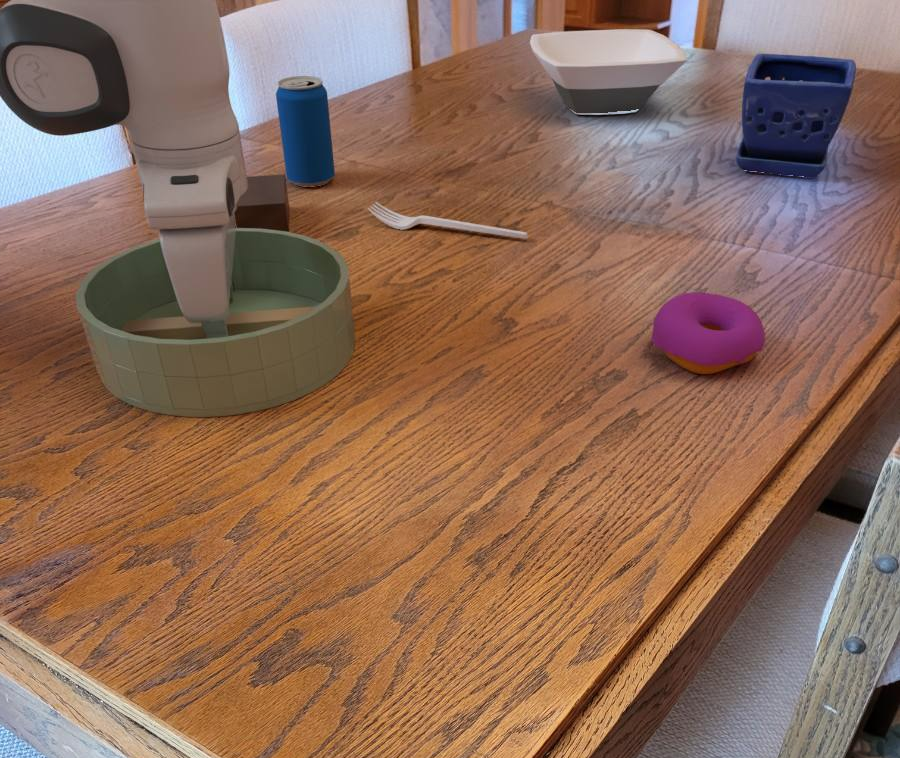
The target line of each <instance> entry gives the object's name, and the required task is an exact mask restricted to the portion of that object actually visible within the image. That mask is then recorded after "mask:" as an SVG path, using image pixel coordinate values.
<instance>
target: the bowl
mask: <svg viewBox="0 0 900 758" xmlns="http://www.w3.org/2000/svg"><path fill="white" fill-rule="evenodd" d="M529 45H530V47H531V50H532V52H533V55H535V57H536V59H537V60H538V62H539V63H540V64H541V66H542V68H543V69H544V70H545V72H546V73H547V75H548V76H549V77H550V78H551V81H552V82H553V84H554V86H555V88H556V91H557V92H558V94H559V96H560V98H561V101H562V102H563V104H564V106H565V105H566V106H567V107H568V108H569V109H571V110H573V111H574V112H576V113H608V112H617V111H631V110H636V109H640V110H641V109H642V108H643V106H645V104H646V103H647V102H648V100H649V99H650V98H651V97H652V96H653V94H654V93H655V92H656V91H657V90H658V89H659V88H660V86H661V85H663V84H664V83H666V81H667V80H669V78H671V76H673V75H674V74H675V73H676V72H677V71H679V69H680V68H681V67H682V66H683V65H684V64H686V63H687V59H688V58H687V53H686V51H685V50H684V49H683V48H682V47H681V46H680V45H679V43H678V42H676V41H673V40H672V39H671V38H670V37H667V36H666V35H664V34H662V33H658V32H657V31H654V30H652V29H644V28H643V29H640V28H639V29H637V28H636V29H635V28H634V29H633V28H631V29H630V28H620V29H618V28H617V29H591V30H568V31H552V32H544V33H535V34H532V35H531V37H530V40H529ZM566 106H565V107H566ZM567 107H566V108H567ZM568 108H567V109H568ZM569 109H568V110H569Z"/></svg>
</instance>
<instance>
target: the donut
mask: <svg viewBox="0 0 900 758" xmlns="http://www.w3.org/2000/svg"><path fill="white" fill-rule="evenodd" d="M763 325H764V324H763V322H762V320H761V319H760V316H759V315H758V314H757V312H756V311H755V310H754V309H753V308H752V307H751V306H749V305H748V304H746V303H744V302H742V301H740V300H738V299H736V298H733V297H729V296H725V295H721V294H716V293H709V292H694V291H693V292H685V293H681V294H679V295H676V296H674V297H672V298H670V299H669V300H667V301H666V302H665V303H664V304H663V305H662V306H661V307H660V308H659V310H658V312H657V313H656V314H655V317H654V320H653V325H652V332H651V340H652V343H653V345H654V346H655V347H657V348H658V349H660V350H661V352H663V354H664V355H665V356H666V357H667V358H668V359H670V360H671V361H672V362H674V363H675V364H677V365H678V366H680V367H681V368H683V369H685V370H687V371H688V372H691V373H694V374H700V375H711V374H716V373H719V372H721V371H725V370H727V369H730V368H732V367H735V366H739V365H742V364H745V363H748V362H750V361H751V360H753V359H754V358H755V357H756V354H757V353H758V352H762V351H763V348H764V346H765V341H766V340H765V339H766V333H765V328H764V326H763Z"/></svg>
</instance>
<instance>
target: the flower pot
mask: <svg viewBox="0 0 900 758" xmlns="http://www.w3.org/2000/svg"><path fill="white" fill-rule="evenodd" d="M856 73H857V64H856V62H855V60H853V59H849V58H840V57H829V56H828V57H826V56H816V55H815V56H814V55H797V54H796V55H795V54H775V53H757V54H756V55H755V56H754V58H753V59H752V61H751V63H750V65H749V66H748V70H747V73H746V76H745V80H744V84H743V91H742V102H741V129H742V130H741V131H742V138H741V141H740V144H739V146H738V149H737V151H736V156H735V162H736V164H737V166H738V167H739V169H740V170H741V169H742V170H741V171H743V170H747V171H757V172H764V173H772V174H779V175H778V176H781V175H793V176H804V177H813V178H815V177H816V176H818V175H819V174H821V173H822V172H823V171H824V169H825V168H826V164H827V159H828V153H829V152H828V151H829V145H830V144H831V142H832V140H833V138H834V137H835V135H836V133H837V131H838V130H839V127H840V125H841V122H842V120H843V117H844V115H845V113H846V110H847V107H848V104H849V102H850V99H851V95H852V93H853V89H854V85H855V84H854V83H855V79H856ZM766 78H769V79H766ZM772 174H771V175H772ZM780 174H781V175H780Z"/></svg>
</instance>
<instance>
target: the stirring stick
mask: <svg viewBox="0 0 900 758" xmlns="http://www.w3.org/2000/svg"><path fill="white" fill-rule="evenodd" d="M313 308H315V307H302V308H289V309H276V310H262V311H249V312H235V313H228V317H227V319H225V320H226V325H227V326H228V332H229V336H233V335H239V334H245V333H250V332H255V331H259V330H262V329H265V328H269V327H272V326H276V325H279V324H282V323H285V322H287V321H289V320H291V319H294V318H296V317H298V316H301V315H303V314H305V313H307V312H308V311H310V310H312V309H313ZM124 332H127V333H130V334H134V335H139V336H145V337H152V338H158V339H179V340H194V339H207V334H206V332H205V330H204V328H203V326H202V324H201V323H190V322H188V321H187V320H186V318H185V317H184V316H182V317H168V318H155V319H141V320H128V321H126V324H125V328H124Z"/></svg>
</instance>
